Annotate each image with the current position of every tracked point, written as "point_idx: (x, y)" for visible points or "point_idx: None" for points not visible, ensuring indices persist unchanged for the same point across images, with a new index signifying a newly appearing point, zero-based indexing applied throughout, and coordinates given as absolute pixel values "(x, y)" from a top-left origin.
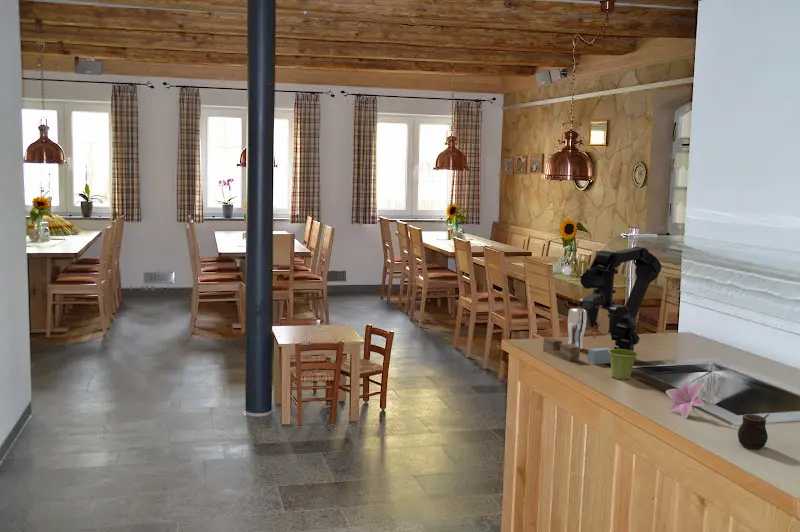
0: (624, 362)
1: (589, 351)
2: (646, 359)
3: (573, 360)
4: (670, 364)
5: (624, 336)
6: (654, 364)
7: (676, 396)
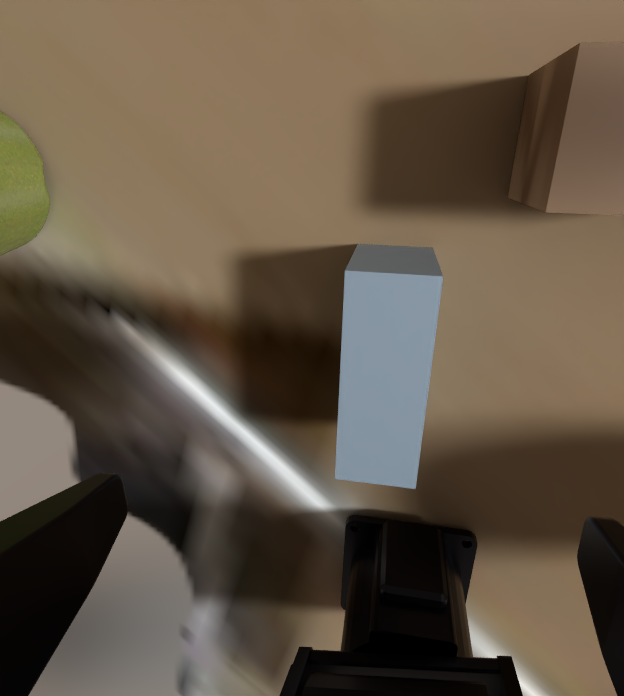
0: None
1: (425, 269)
2: None
3: (522, 125)
4: (205, 665)
5: (304, 688)
6: (226, 606)
7: None
